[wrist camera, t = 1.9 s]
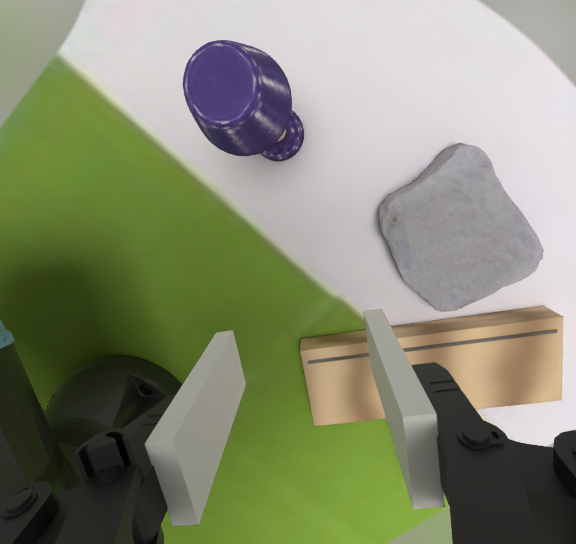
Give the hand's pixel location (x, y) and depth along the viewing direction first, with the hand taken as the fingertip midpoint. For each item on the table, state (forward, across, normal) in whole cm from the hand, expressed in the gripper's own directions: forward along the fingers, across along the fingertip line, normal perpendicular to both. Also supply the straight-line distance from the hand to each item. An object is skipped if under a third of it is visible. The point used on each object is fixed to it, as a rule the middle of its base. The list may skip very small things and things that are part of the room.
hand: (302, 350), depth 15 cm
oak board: (+17, +9, -12) cm, 22 cm away
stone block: (+17, +12, 0) cm, 21 cm away
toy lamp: (+17, -1, +11) cm, 20 cm away
